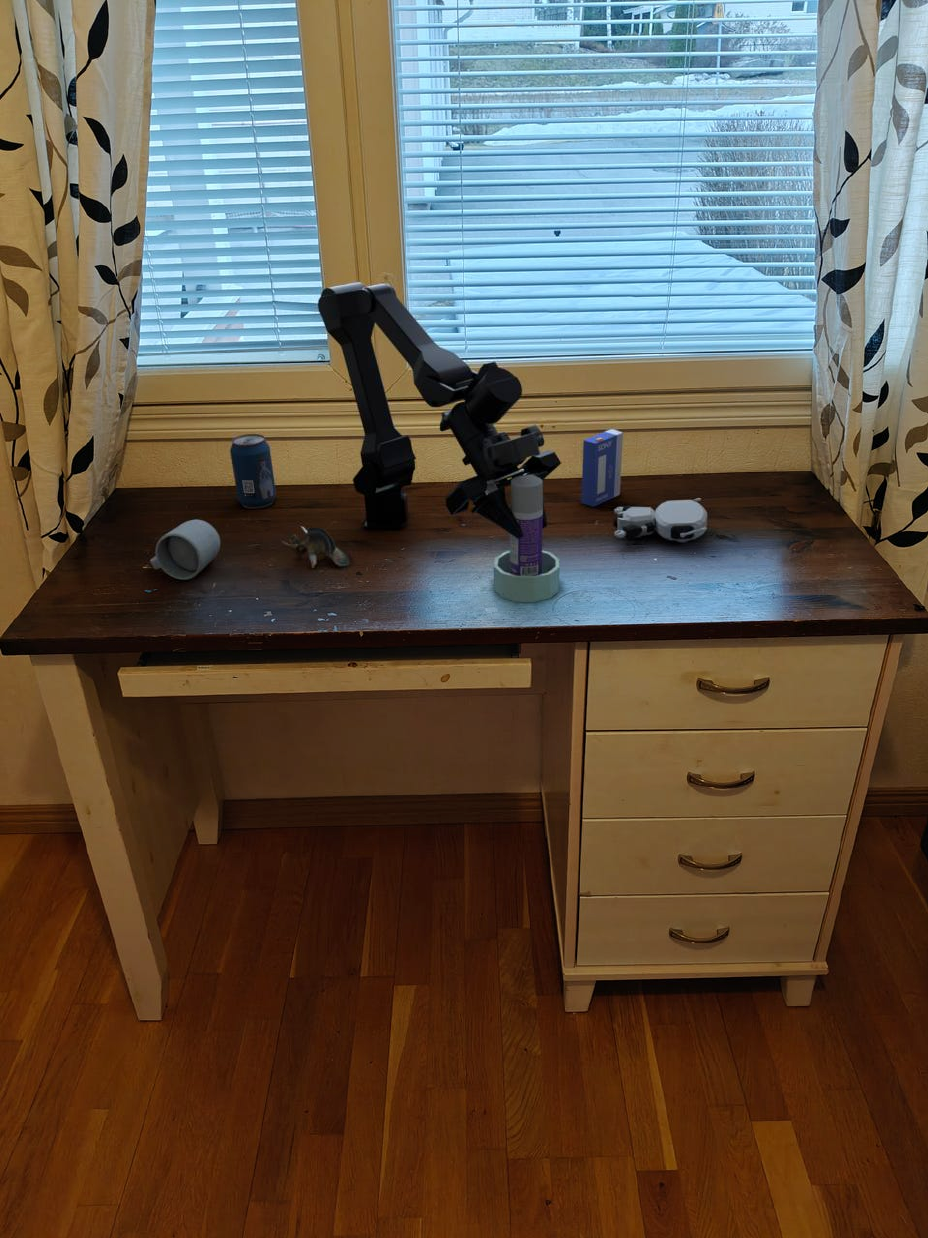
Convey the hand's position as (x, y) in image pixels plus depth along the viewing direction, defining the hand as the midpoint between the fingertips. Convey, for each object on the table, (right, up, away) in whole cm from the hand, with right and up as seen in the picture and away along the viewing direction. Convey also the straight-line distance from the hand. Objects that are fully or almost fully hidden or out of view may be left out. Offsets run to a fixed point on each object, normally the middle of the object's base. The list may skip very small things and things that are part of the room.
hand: (533, 532), depth 136 cm
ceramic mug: (-54, -5, +14) cm, 56 cm away
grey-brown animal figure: (-33, -4, +15) cm, 36 cm away
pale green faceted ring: (-1, -8, +5) cm, 9 cm away
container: (-1, -6, +5) cm, 8 cm away
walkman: (+15, +9, +34) cm, 38 cm away
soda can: (-47, +9, +37) cm, 61 cm away
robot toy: (+22, +1, +20) cm, 30 cm away
